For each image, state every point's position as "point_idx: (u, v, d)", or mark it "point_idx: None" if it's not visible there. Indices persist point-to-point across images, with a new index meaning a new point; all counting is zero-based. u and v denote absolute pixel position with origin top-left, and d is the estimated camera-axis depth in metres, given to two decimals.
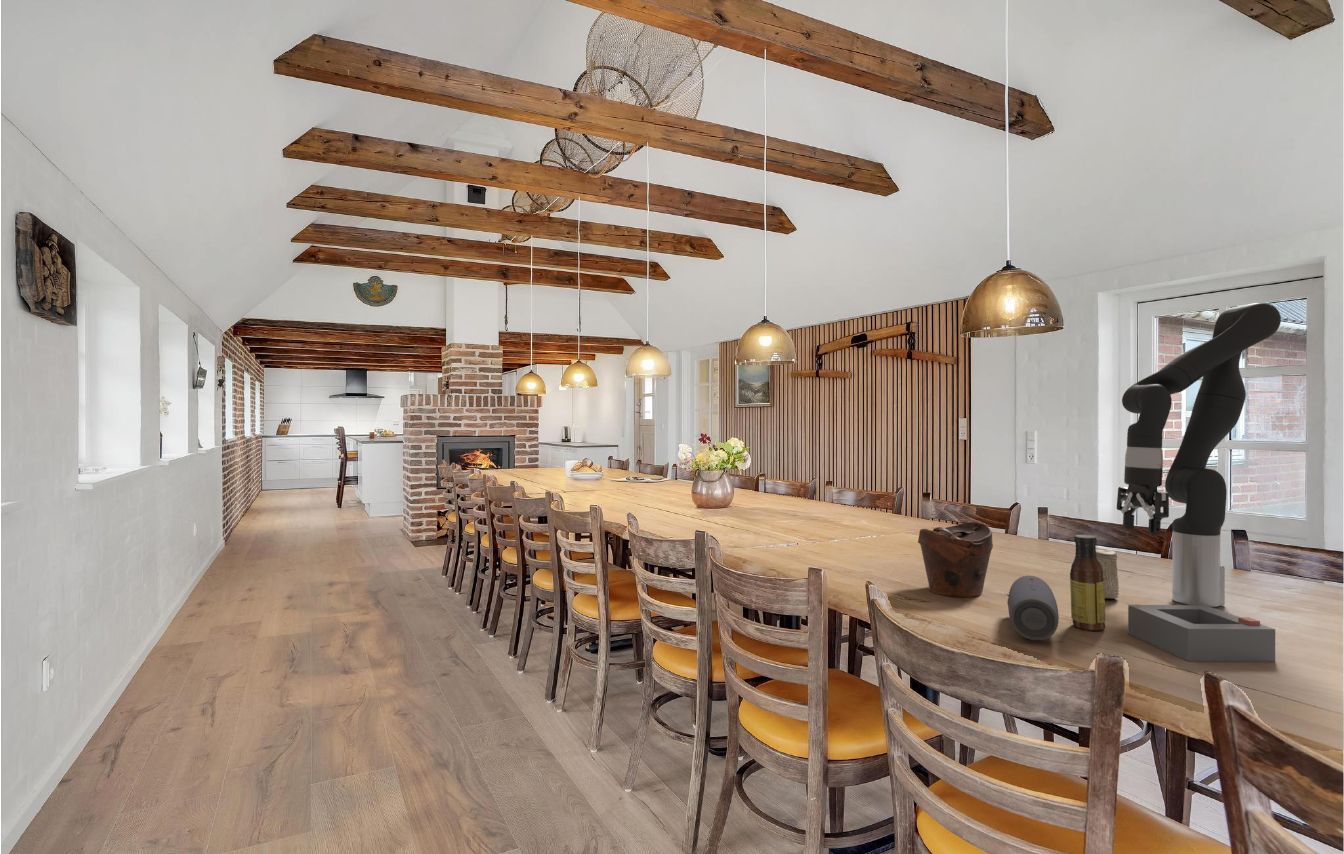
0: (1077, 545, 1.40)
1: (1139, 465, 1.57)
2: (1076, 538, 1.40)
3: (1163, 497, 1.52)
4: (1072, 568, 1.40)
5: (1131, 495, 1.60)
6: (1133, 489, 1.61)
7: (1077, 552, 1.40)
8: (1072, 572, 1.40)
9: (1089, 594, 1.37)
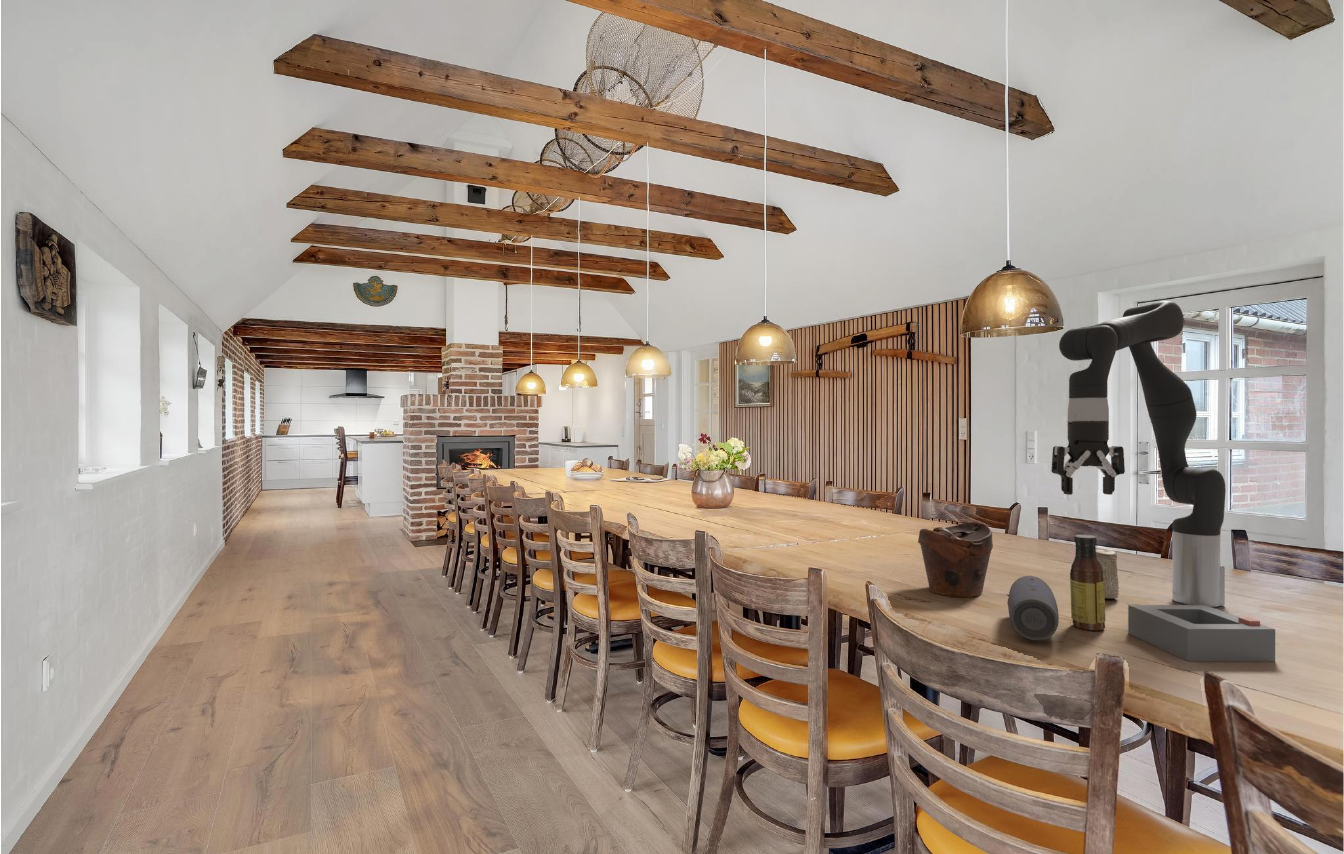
0: (1077, 545, 1.40)
1: (1107, 418, 1.37)
2: (1076, 538, 1.40)
3: None
4: (1072, 568, 1.40)
5: (1088, 454, 1.38)
6: (1083, 447, 1.39)
7: (1077, 552, 1.40)
8: (1072, 572, 1.40)
9: (1089, 594, 1.37)
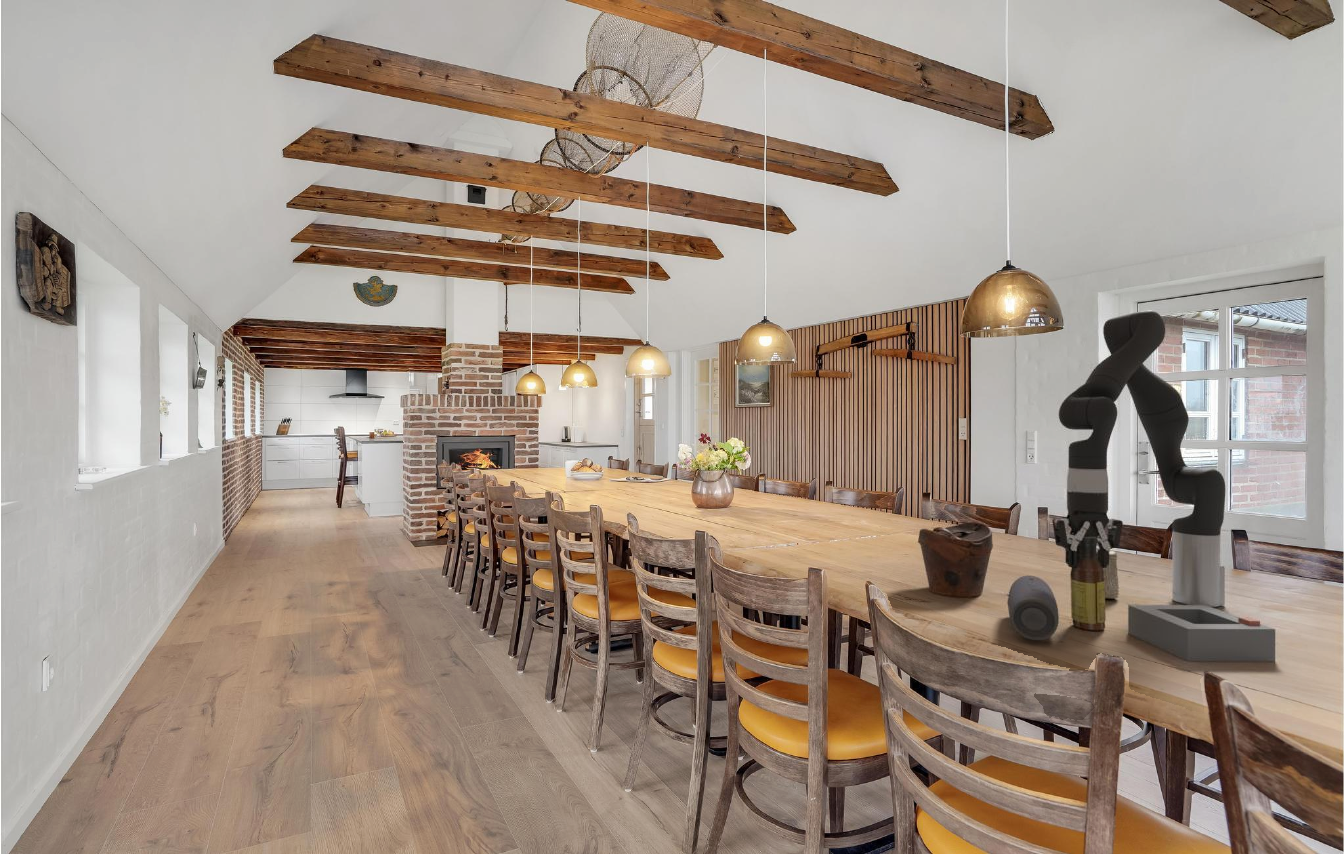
0: (1078, 545, 1.40)
1: (1107, 490, 1.37)
2: None
3: None
4: (1073, 568, 1.40)
5: (1088, 525, 1.38)
6: (1083, 517, 1.39)
7: (1078, 552, 1.40)
8: (1072, 572, 1.40)
9: (1089, 594, 1.37)
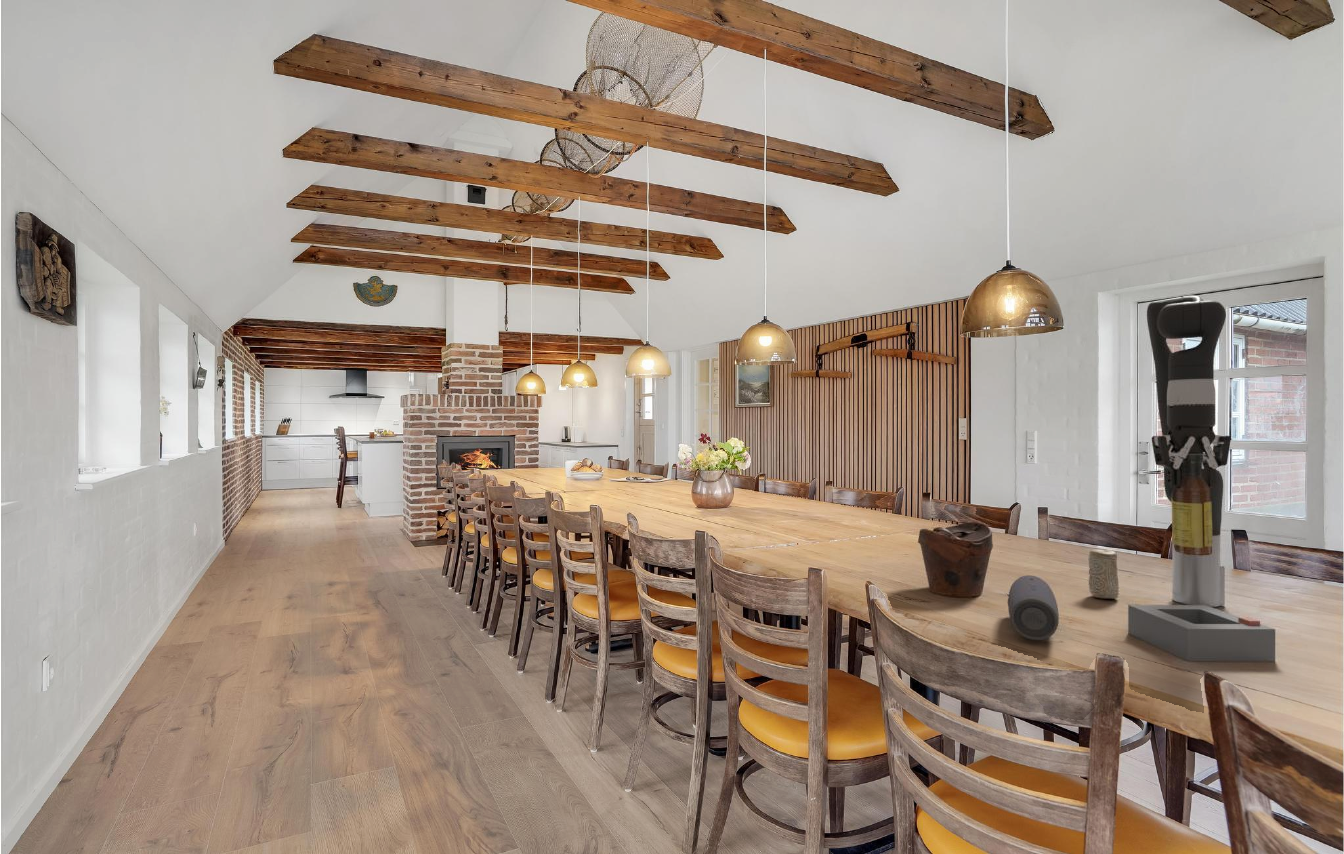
0: (1181, 463, 1.28)
1: (1214, 401, 1.26)
2: None
3: None
4: (1175, 488, 1.29)
5: (1193, 440, 1.27)
6: (1187, 433, 1.27)
7: (1180, 471, 1.28)
8: (1175, 493, 1.29)
9: (1195, 515, 1.26)
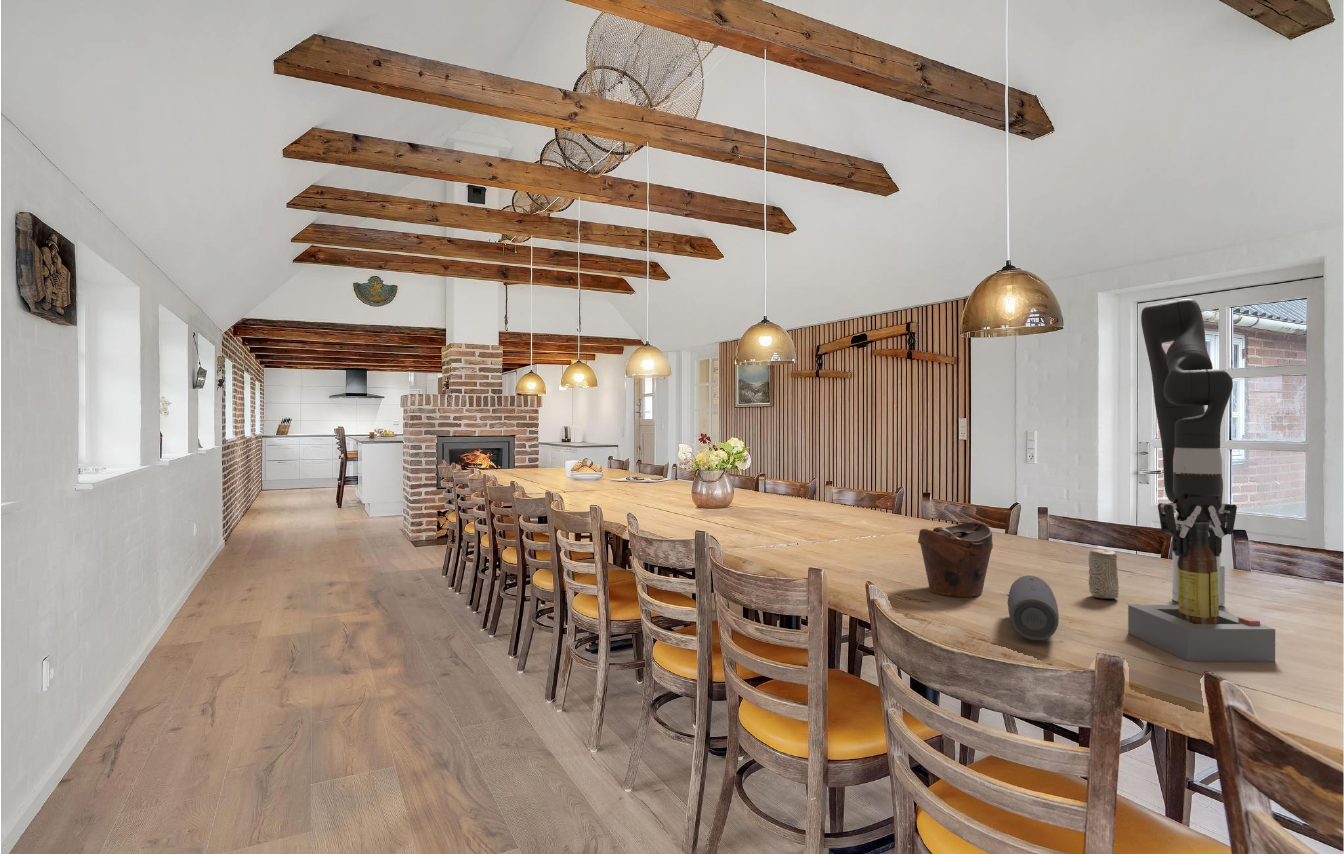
0: (1187, 532, 1.28)
1: (1221, 471, 1.25)
2: None
3: None
4: (1181, 557, 1.28)
5: (1199, 509, 1.26)
6: (1193, 501, 1.27)
7: (1187, 539, 1.28)
8: (1181, 561, 1.28)
9: (1202, 585, 1.25)
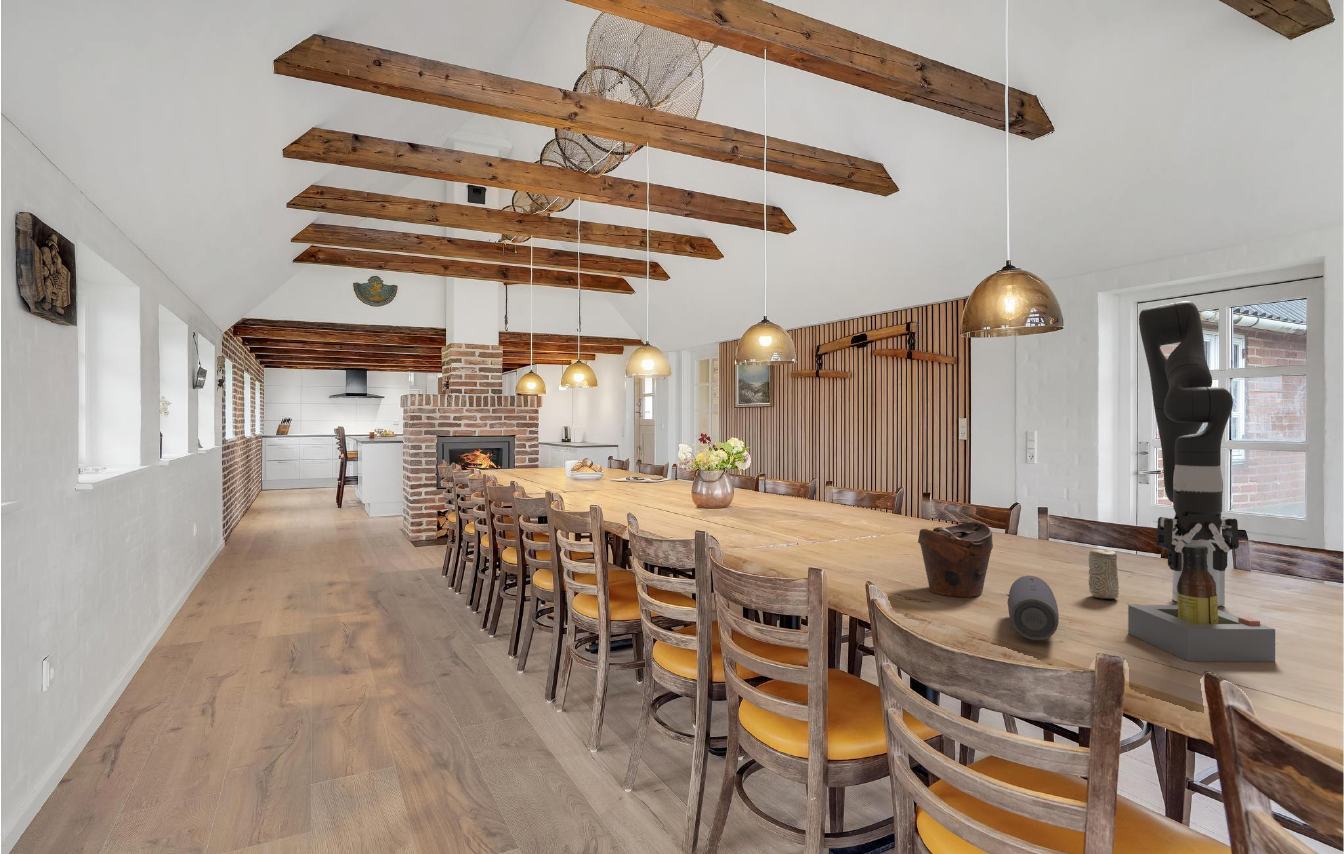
0: (1186, 556, 1.28)
1: (1221, 488, 1.25)
2: (1184, 548, 1.28)
3: None
4: (1180, 581, 1.28)
5: (1200, 527, 1.26)
6: (1193, 519, 1.27)
7: (1186, 563, 1.28)
8: (1180, 585, 1.28)
9: (1202, 610, 1.25)
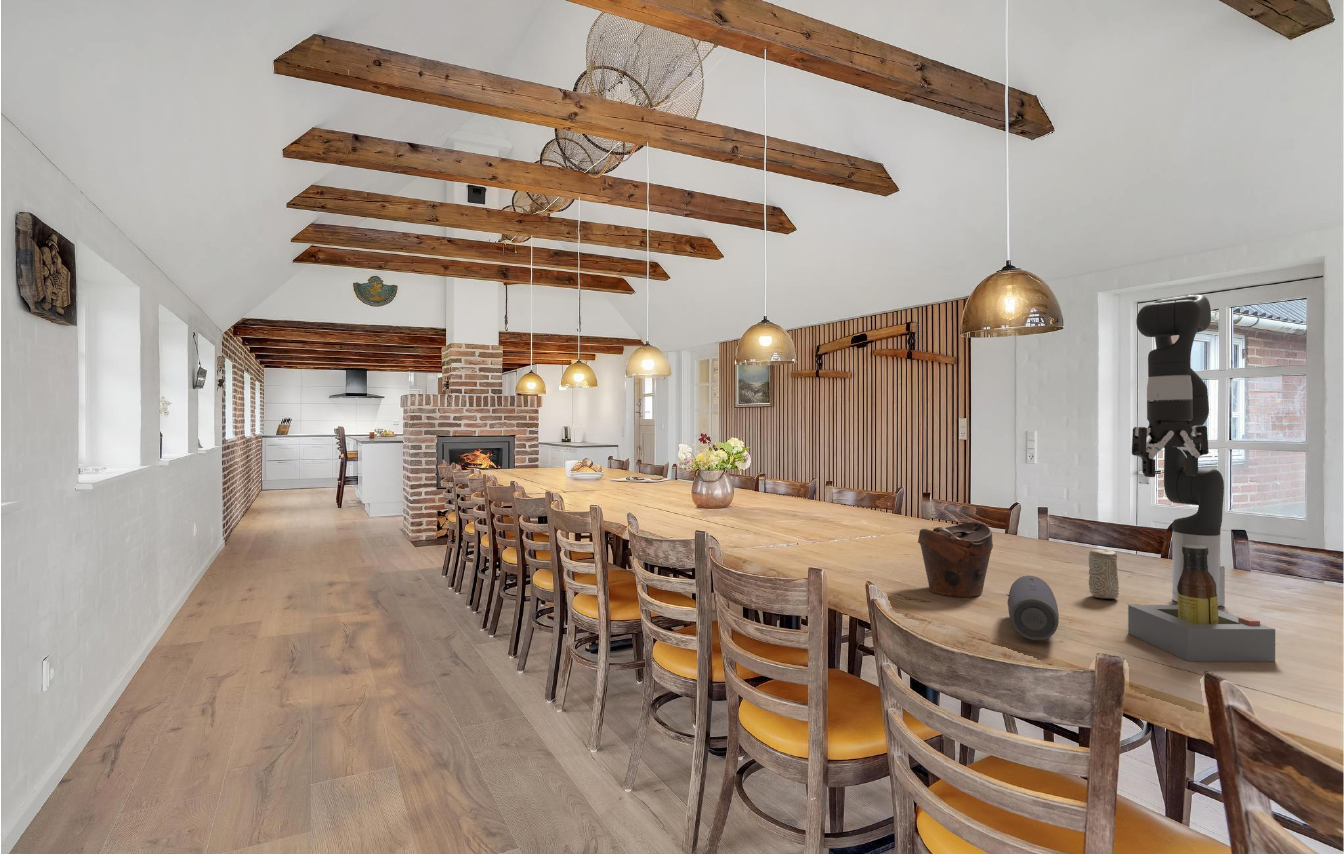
0: (1186, 556, 1.28)
1: (1192, 396, 1.31)
2: (1185, 549, 1.28)
3: None
4: (1180, 581, 1.28)
5: (1172, 434, 1.32)
6: (1166, 427, 1.33)
7: (1186, 564, 1.28)
8: (1180, 586, 1.28)
9: (1202, 610, 1.25)
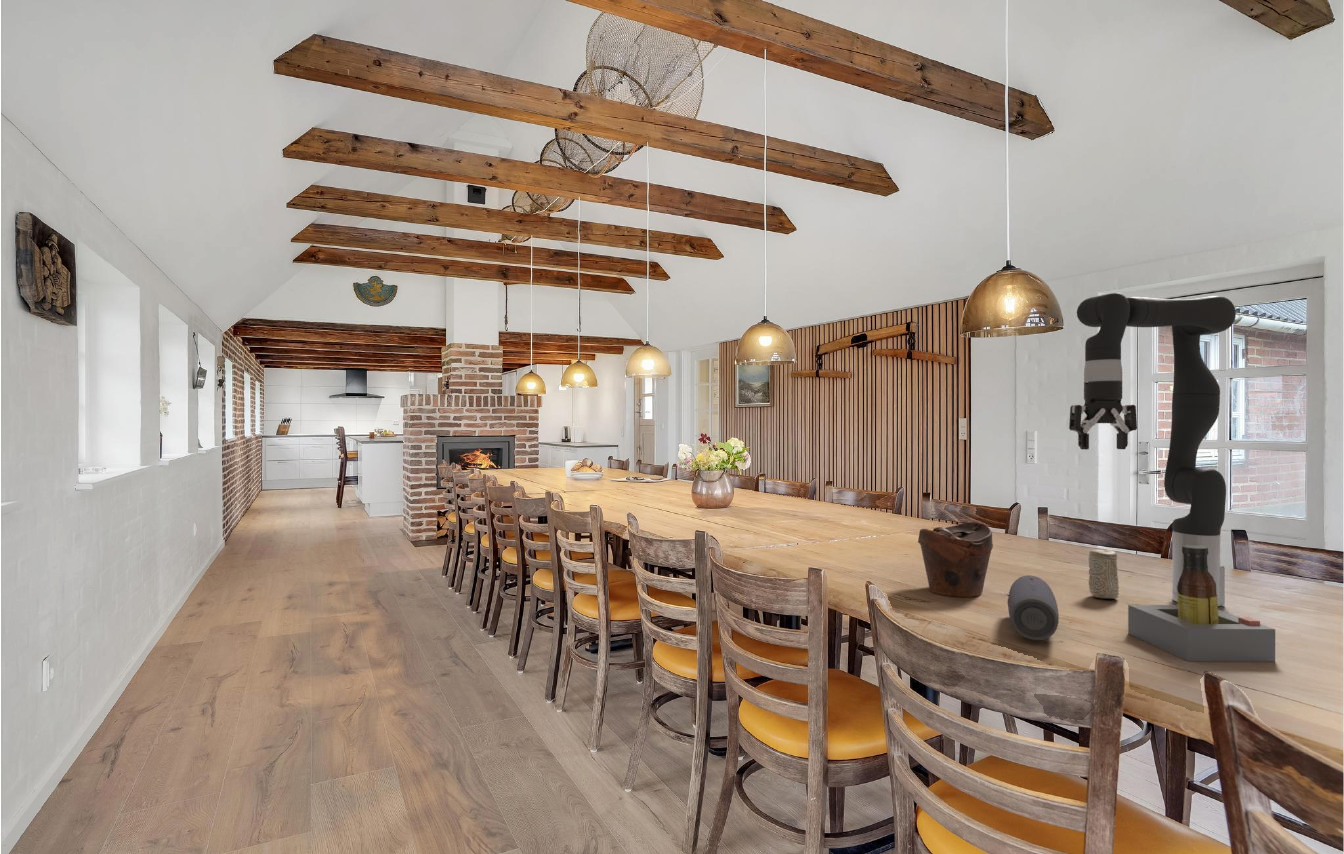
0: (1186, 556, 1.28)
1: (1121, 378, 1.49)
2: (1185, 548, 1.28)
3: None
4: (1180, 581, 1.28)
5: (1103, 411, 1.50)
6: (1099, 405, 1.51)
7: (1186, 564, 1.28)
8: (1180, 586, 1.28)
9: (1202, 610, 1.25)
